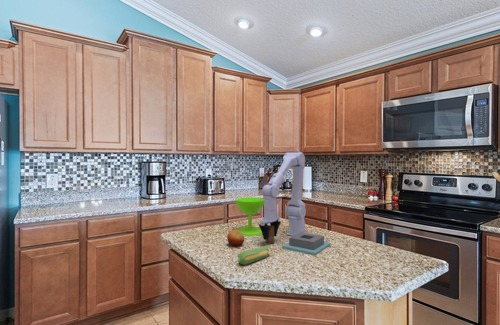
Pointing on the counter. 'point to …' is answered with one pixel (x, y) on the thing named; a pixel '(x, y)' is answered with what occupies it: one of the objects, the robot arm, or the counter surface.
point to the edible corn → (253, 255)
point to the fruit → (235, 238)
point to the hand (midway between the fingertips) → (270, 237)
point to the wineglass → (250, 213)
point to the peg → (271, 235)
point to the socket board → (313, 252)
